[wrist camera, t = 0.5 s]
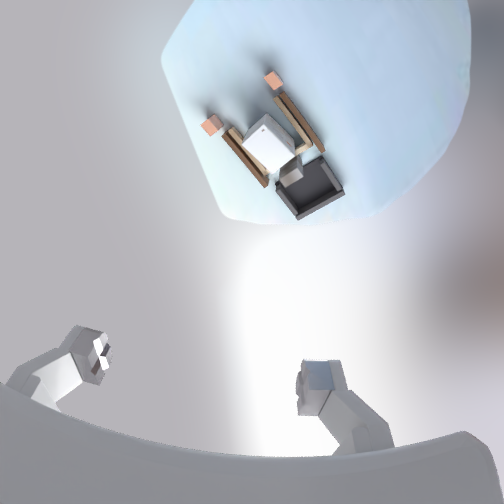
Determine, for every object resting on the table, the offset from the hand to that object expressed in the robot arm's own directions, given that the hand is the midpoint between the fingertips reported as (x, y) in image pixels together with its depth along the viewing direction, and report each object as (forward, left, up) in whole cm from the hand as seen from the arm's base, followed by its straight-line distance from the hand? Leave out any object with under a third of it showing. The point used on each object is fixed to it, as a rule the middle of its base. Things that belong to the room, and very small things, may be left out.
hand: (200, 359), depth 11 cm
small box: (+4, +4, -53) cm, 53 cm away
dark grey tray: (+4, +18, -53) cm, 56 cm away
